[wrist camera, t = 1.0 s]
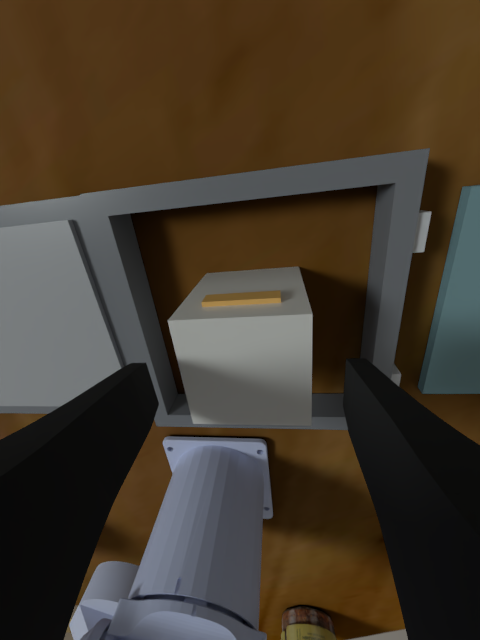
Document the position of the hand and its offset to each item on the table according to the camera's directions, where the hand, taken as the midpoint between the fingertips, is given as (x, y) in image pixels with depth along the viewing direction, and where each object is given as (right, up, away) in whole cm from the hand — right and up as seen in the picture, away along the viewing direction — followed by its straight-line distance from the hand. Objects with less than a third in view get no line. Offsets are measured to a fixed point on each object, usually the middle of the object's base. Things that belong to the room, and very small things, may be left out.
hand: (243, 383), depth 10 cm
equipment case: (-6, +2, +7) cm, 9 cm away
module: (+1, +3, +6) cm, 7 cm away
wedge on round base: (-15, -32, +25) cm, 44 cm away
